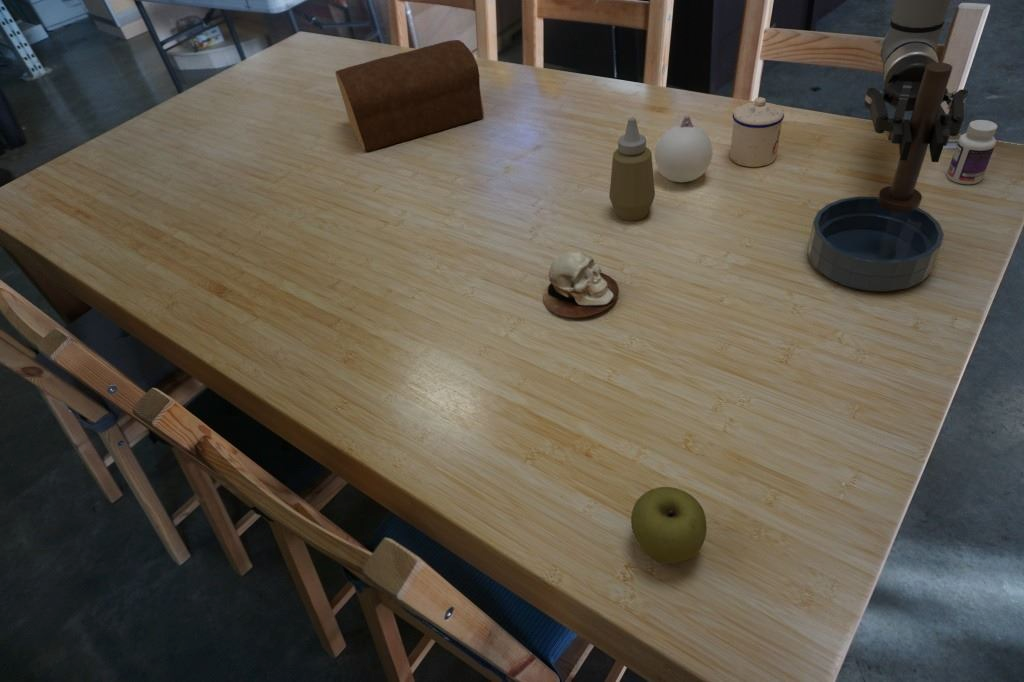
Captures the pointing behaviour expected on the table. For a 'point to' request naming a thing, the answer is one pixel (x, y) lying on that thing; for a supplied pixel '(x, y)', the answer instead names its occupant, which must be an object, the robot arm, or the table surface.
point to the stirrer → (917, 140)
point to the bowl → (873, 244)
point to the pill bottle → (973, 153)
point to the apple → (668, 524)
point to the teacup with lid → (756, 133)
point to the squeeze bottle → (632, 175)
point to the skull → (578, 286)
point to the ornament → (683, 152)
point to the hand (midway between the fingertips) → (921, 151)
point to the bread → (411, 94)
